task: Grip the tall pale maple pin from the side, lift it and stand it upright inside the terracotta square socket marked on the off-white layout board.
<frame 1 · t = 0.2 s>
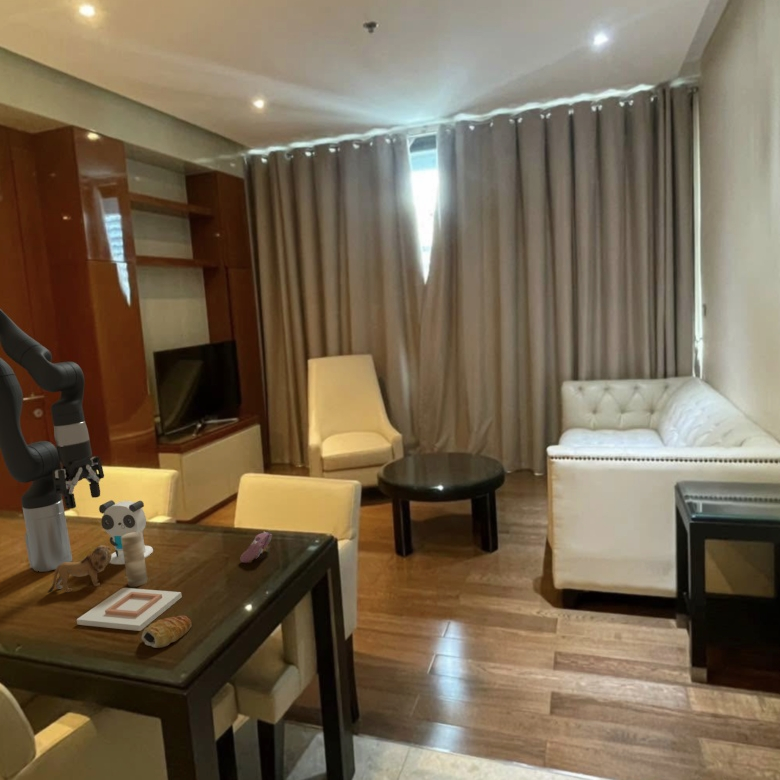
hand: (84, 502, 153), 18 cm above the table, tool pointing down, fingers open, 8 cm apart
video game controller: (258, 556, 156), on the table
layout board: (131, 610, 131), on the table
maple pin: (137, 582, 145), on the table
panda figurine: (129, 555, 162), on the table
pastry: (166, 638, 120), on the table
lion figurine: (84, 586, 146), on the table
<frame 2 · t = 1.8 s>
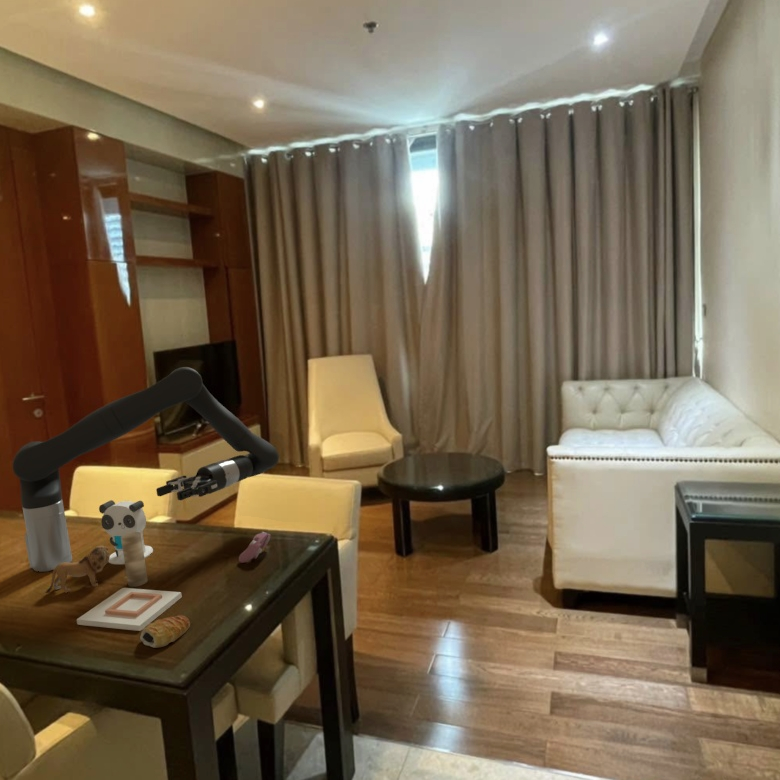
hand: (167, 494, 151), 19 cm above the table, tool horizontal, fingers open, 8 cm apart
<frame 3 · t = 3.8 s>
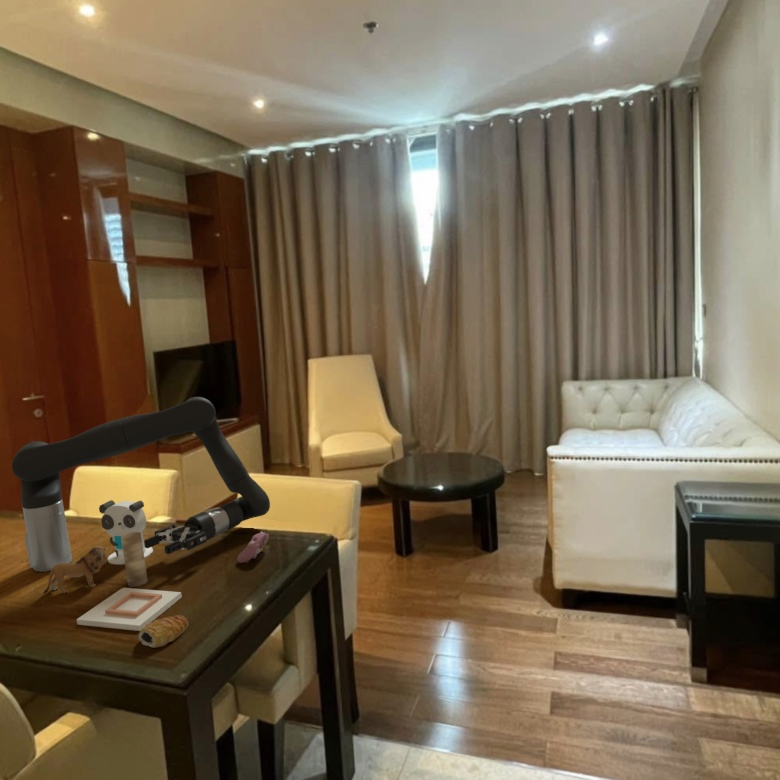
hand: (155, 547, 149), 7 cm above the table, tool horizontal, fingers open, 8 cm apart
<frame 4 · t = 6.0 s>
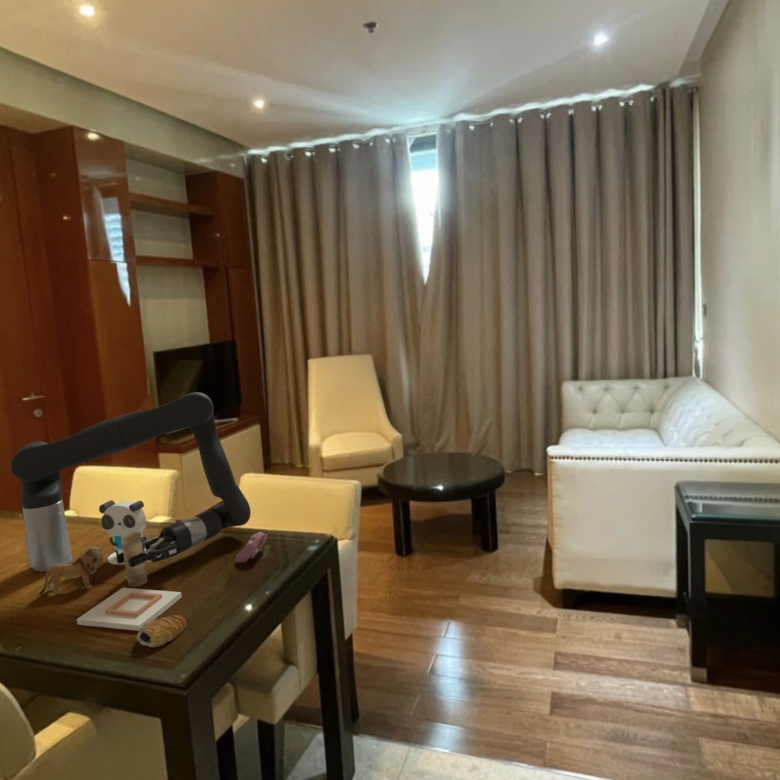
hand: (123, 561, 142), 7 cm above the table, tool horizontal, fingers closed on maple pin, 4 cm apart
maple pin: (138, 582, 145), on the table, touching gripper
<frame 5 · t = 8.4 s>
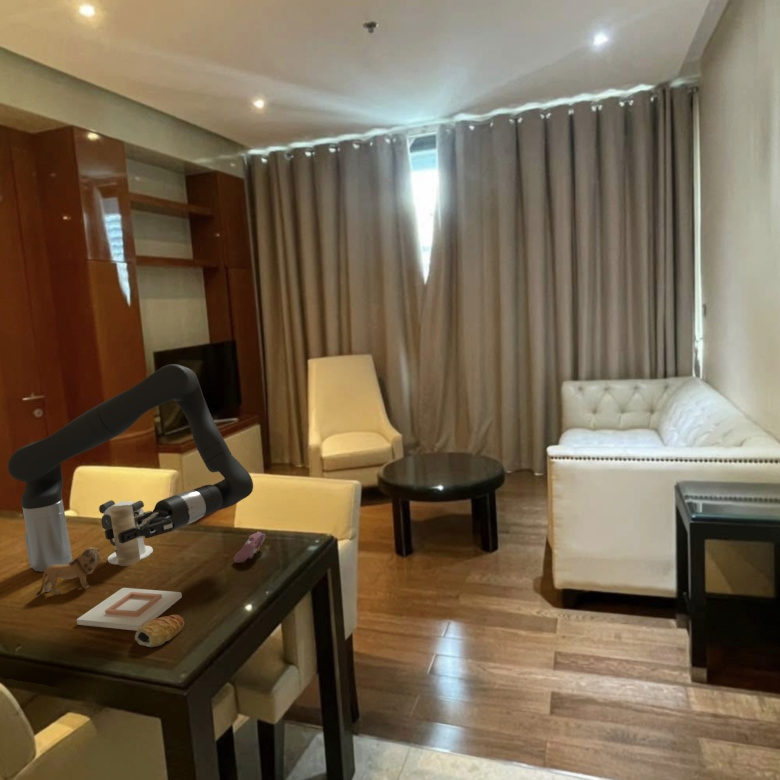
hand: (113, 537, 127), 18 cm above the table, tool horizontal, fingers closed on maple pin, 4 cm apart
maple pin: (129, 561, 130), point 11 cm above the table, touching gripper
when the fingers open (9 cm above the table, at t = 10.8 s): maple pin drops 1 cm, resting on layout board.
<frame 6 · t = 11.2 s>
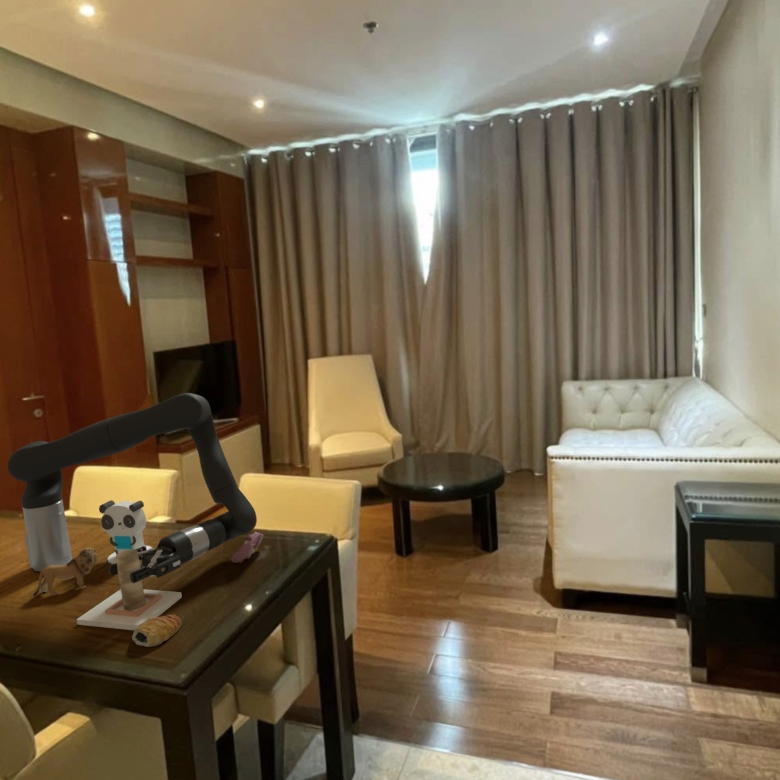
hand: (120, 574, 128), 9 cm above the table, tool horizontal, fingers open, 7 cm apart
maple pin: (134, 605, 131), point 1 cm above the table, touching layout board
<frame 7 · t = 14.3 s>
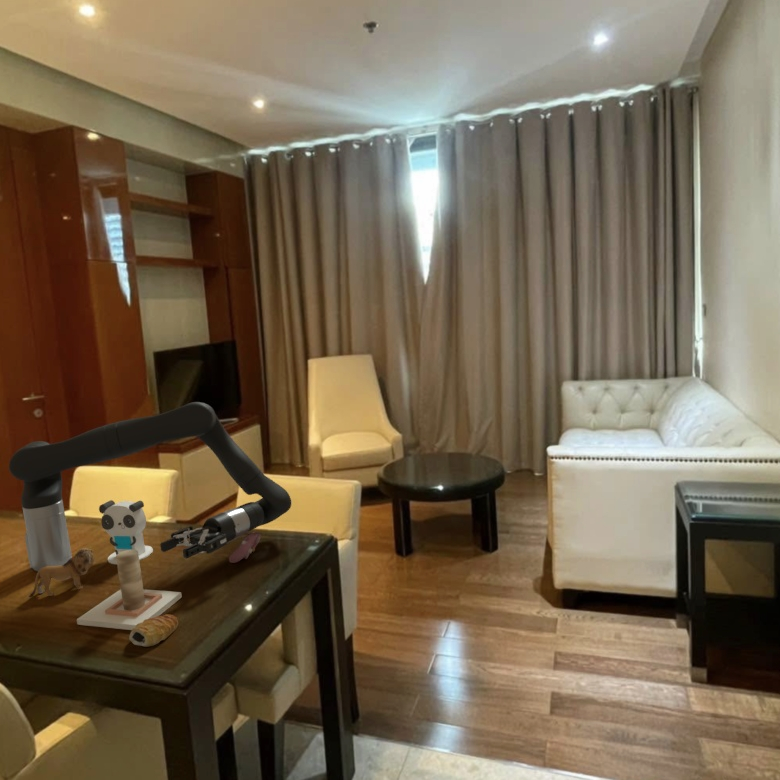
hand: (172, 551, 139), 9 cm above the table, tool horizontal, fingers open, 8 cm apart
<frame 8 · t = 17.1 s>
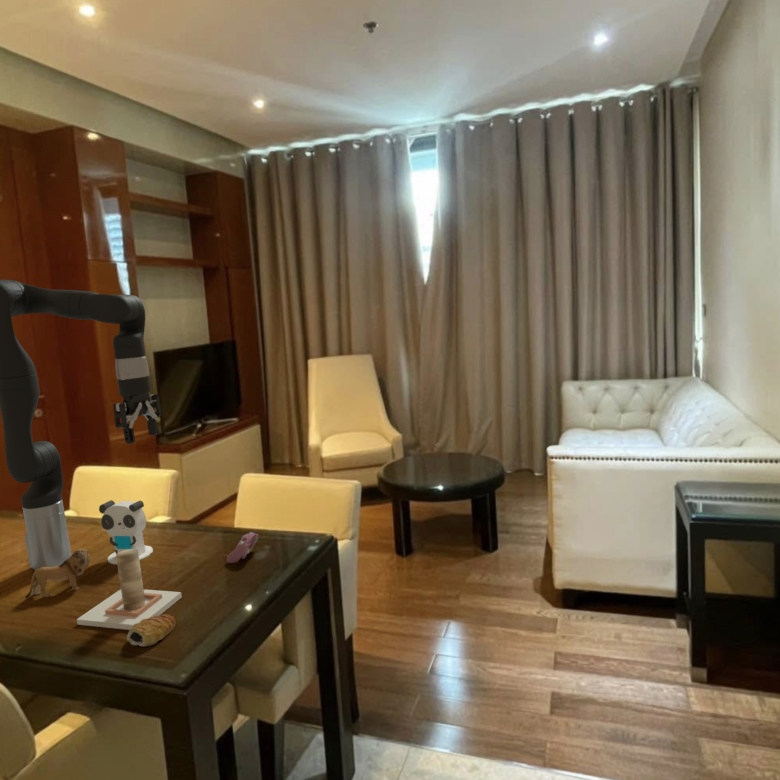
hand: (142, 438, 151), 33 cm above the table, tool pointing down, fingers open, 8 cm apart
at the end: maple pin 0.1 cm off-centre on the layout board, point 1.3 cm above the layout board's base; maple pin tilted 2°; the gripper is holding nothing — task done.
